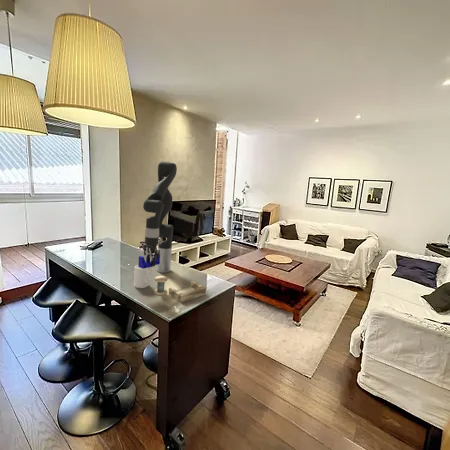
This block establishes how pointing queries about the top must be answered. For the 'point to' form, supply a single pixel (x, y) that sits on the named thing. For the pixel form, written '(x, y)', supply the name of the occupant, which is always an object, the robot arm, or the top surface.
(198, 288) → the notched board
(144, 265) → the cable clip
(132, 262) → the top surface
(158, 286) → the bobbin
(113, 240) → the top surface
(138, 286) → the mug
